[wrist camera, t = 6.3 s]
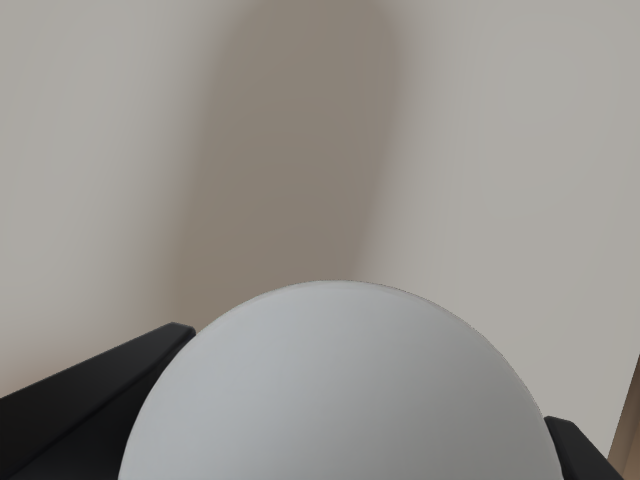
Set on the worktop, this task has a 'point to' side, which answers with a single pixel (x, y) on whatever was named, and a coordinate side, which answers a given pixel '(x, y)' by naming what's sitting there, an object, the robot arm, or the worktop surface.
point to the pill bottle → (339, 396)
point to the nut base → (628, 434)
